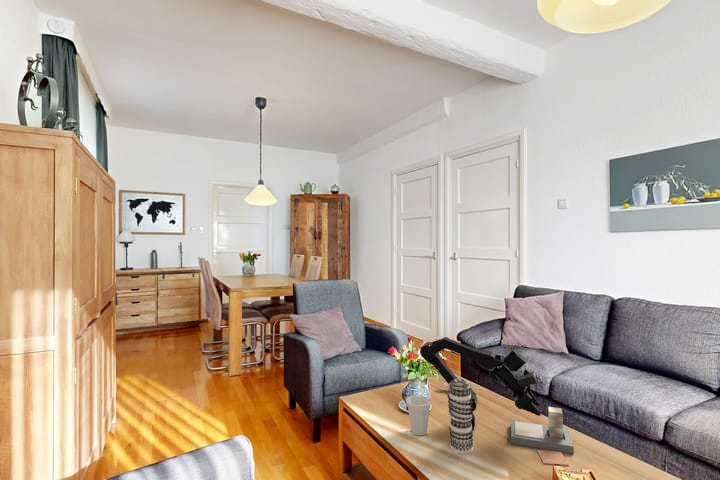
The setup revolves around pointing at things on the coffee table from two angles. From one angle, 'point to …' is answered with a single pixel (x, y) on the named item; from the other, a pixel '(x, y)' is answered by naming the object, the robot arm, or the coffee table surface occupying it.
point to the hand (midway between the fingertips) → (539, 409)
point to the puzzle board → (539, 436)
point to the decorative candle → (460, 416)
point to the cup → (418, 413)
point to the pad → (552, 457)
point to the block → (555, 422)
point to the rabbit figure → (446, 385)
